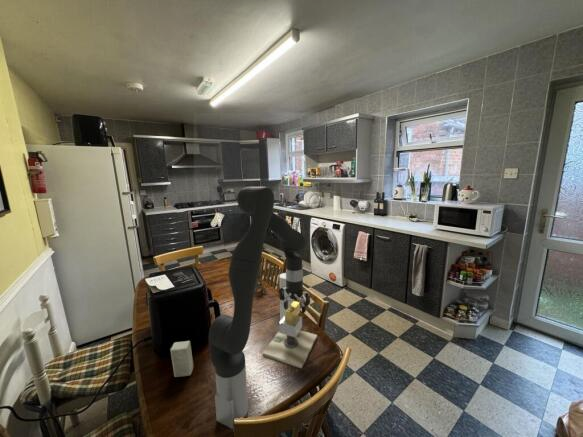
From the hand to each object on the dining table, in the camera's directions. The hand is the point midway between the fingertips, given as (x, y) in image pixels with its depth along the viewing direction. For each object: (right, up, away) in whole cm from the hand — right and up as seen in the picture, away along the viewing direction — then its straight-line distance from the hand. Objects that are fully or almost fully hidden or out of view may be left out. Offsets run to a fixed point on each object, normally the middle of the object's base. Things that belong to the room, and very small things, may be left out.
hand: (294, 310), depth 107 cm
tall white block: (-4, -12, +18) cm, 22 cm away
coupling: (-1, -7, -1) cm, 7 cm away
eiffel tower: (-23, -7, +48) cm, 54 cm away
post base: (-2, -15, -1) cm, 15 cm away
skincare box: (-44, -18, -15) cm, 50 cm away
